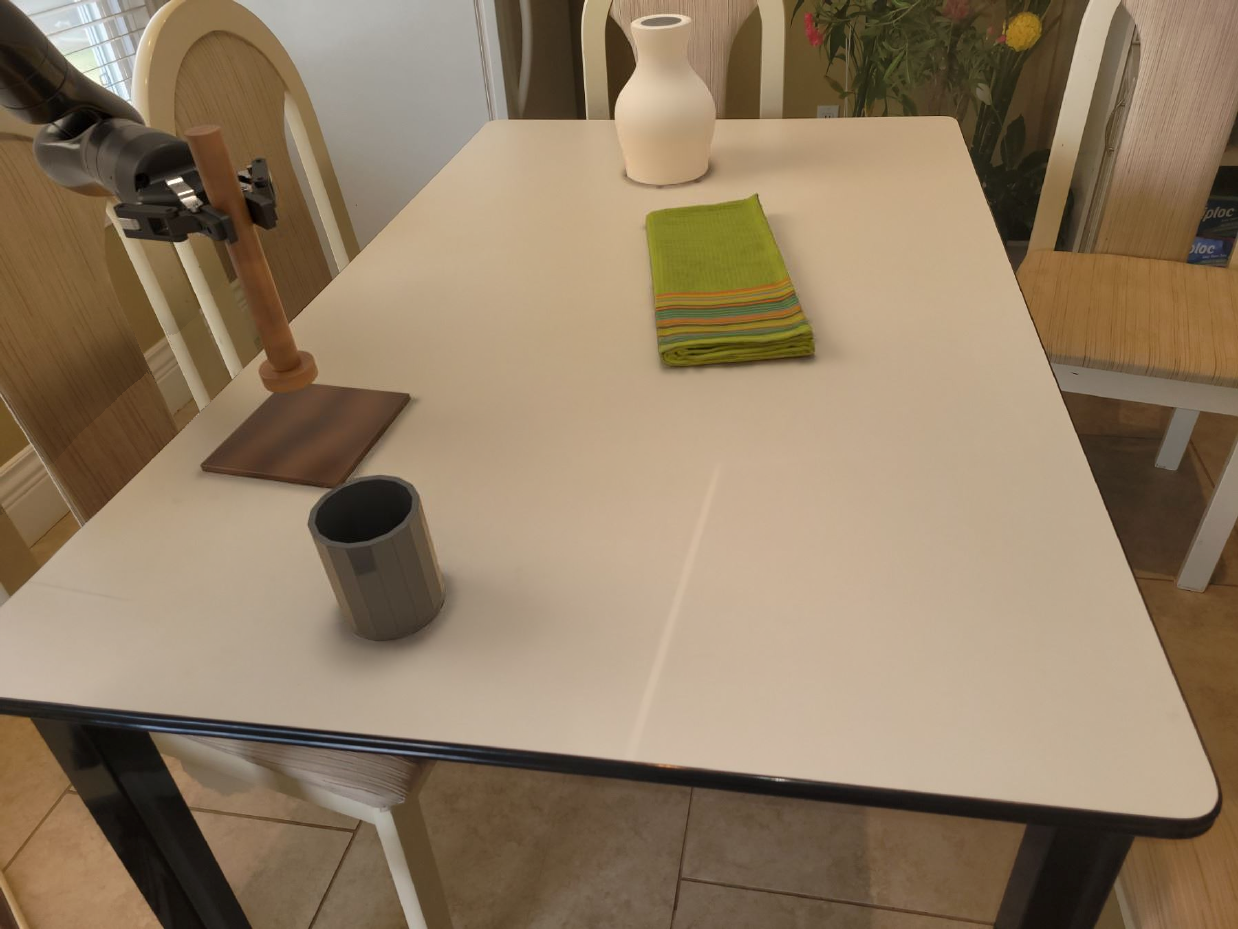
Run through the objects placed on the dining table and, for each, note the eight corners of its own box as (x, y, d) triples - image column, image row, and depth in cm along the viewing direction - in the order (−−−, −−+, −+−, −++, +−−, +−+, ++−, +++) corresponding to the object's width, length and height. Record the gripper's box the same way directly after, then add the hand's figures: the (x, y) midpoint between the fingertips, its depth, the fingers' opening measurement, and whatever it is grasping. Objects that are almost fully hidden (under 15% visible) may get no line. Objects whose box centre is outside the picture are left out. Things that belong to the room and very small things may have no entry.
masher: (252, 390, 79) (154, 139, 65) (282, 361, 82) (195, 118, 68) (300, 395, 77) (209, 141, 64) (328, 366, 81) (248, 119, 67)
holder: (324, 631, 64) (286, 539, 58) (373, 559, 69) (343, 469, 64) (417, 648, 62) (387, 555, 56) (460, 573, 67) (437, 481, 62)
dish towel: (660, 371, 87) (658, 342, 85) (643, 223, 115) (642, 199, 113) (817, 359, 87) (819, 330, 85) (762, 213, 115) (762, 189, 113)
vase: (696, 146, 137) (694, 2, 124) (730, 177, 126) (731, 23, 113) (607, 161, 134) (595, 16, 122) (633, 194, 123) (623, 39, 111)
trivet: (201, 470, 80) (199, 465, 80) (287, 385, 90) (285, 380, 90) (338, 489, 76) (336, 483, 76) (411, 398, 87) (409, 393, 86)
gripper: (57, 157, 73) (141, 206, 62) (218, 110, 80) (316, 148, 70) (97, 243, 77) (182, 302, 67) (245, 191, 85) (342, 237, 74)
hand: (250, 223), depth 69 cm, fingers closed on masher, 2 cm apart
